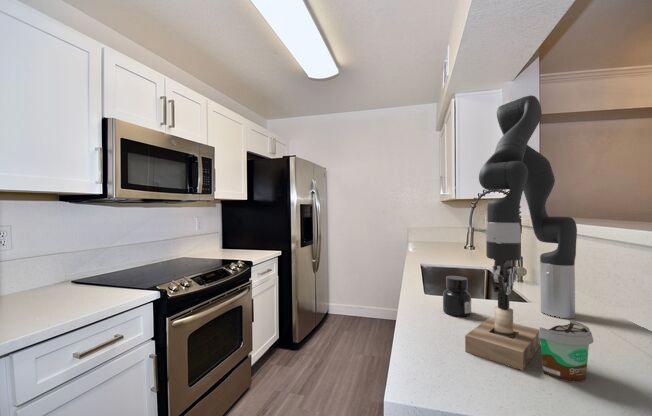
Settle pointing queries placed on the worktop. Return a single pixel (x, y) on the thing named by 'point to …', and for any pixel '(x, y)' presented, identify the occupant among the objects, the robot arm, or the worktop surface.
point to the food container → (565, 351)
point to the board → (503, 344)
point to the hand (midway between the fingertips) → (503, 308)
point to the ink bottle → (457, 297)
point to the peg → (504, 322)
